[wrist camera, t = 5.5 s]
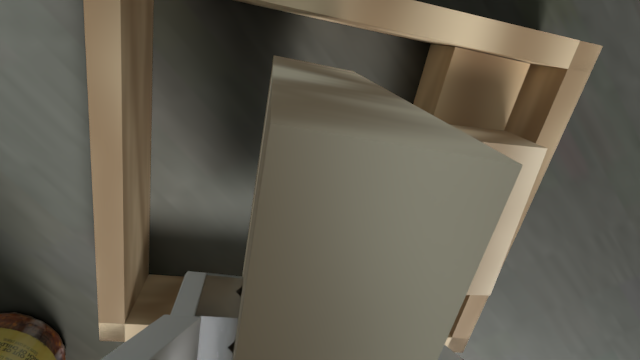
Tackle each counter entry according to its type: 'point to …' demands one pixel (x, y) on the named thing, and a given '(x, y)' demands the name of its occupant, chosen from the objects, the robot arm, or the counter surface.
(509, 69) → the offcut oak
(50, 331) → the sauce bottle
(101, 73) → the wooden tray
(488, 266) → the offcut beech
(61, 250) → the counter surface
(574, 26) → the counter surface
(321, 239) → the pale wooden block
